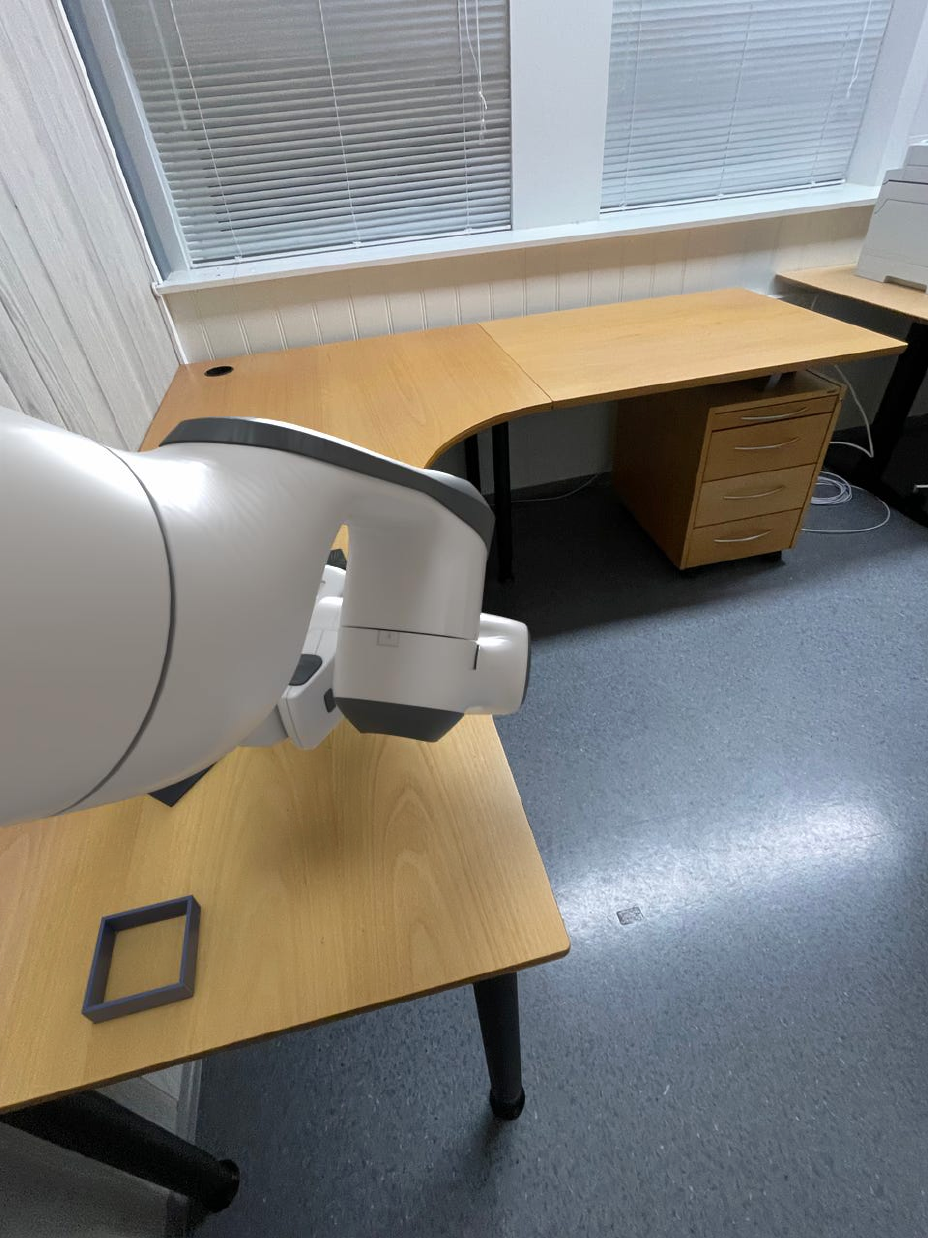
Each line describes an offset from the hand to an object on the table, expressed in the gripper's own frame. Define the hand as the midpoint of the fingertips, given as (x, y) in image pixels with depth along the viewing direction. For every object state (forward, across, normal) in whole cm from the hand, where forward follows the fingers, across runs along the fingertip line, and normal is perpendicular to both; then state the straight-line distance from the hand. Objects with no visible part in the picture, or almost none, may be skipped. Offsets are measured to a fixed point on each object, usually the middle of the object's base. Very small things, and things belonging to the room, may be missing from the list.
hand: (195, 633), depth 54 cm
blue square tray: (+3, +19, +25) cm, 31 cm away
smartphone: (+13, -43, +25) cm, 51 cm away
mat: (+13, -2, +25) cm, 28 cm away
